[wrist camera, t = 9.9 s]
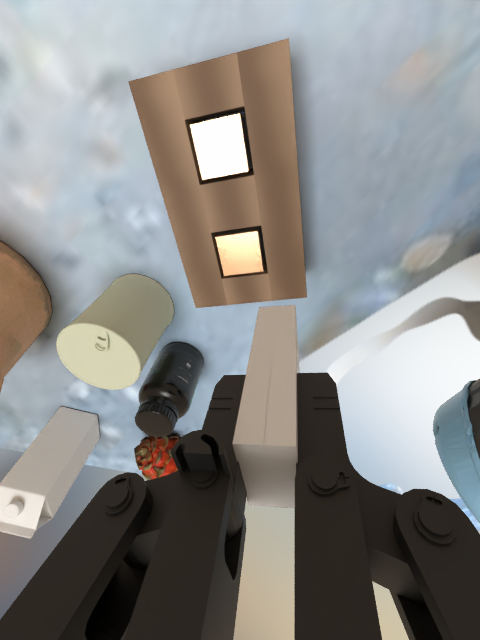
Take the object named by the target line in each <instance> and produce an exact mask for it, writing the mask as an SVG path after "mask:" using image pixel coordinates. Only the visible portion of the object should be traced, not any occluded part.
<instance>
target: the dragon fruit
mask: <svg viewBox="0 0 480 640" xmlns="http://www.w3.org/2000/svg"><path fill="white" fill-rule="evenodd" d="M171 438H172V439H171ZM178 439H179V437H178V436H170V437H169V438H167V437H166V436H163V437H161V436H160V437H158V436H157V437H156V436H152V435H150V437H145V438H144V439H142V440H141V443H140V445H138V446H137V447H136V448H134V449H135V450H134V451H135V458H136V463H137V466H138V468H139V470H142V474H143V475H144V477H145V478H146V479H147V480H151V479H154V478H158V477H162V476H165V475H168V474H171V473H173V472H176V471H177V470H178V469H177V467H176V464H175V462H174V460H173V458H172V455H171V453H170V452H171V450H172V448H173V447H174V445H175V443H176V442H177V441H178Z"/></svg>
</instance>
